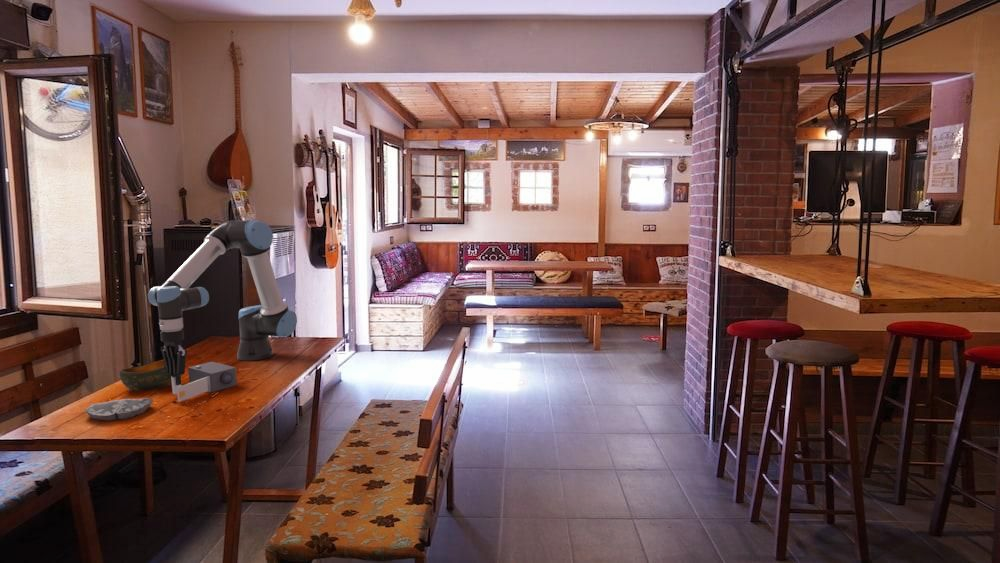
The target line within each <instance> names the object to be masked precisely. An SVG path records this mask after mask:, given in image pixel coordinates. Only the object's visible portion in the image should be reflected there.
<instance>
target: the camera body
mask: <svg viewBox="0 0 1000 563" xmlns="http://www.w3.org/2000/svg"><path fill="white" fill-rule="evenodd" d="M187 370H188V371H187V372H188V373H187V374H188V383H191V382H193V381H196V380H199V379H202V378H205V377H207V376H210V386H211V392H212V393H215V392H217V391H221V390H224V389H228V388H231V387H235V386H238V381H237V380H238V379H237V368H236V367H235V366H231V365H227V364H224V363H218V362H215V361H209V362H204V363H201V364H197V365H192V366H188V367H187ZM211 392H210V393H211Z"/></svg>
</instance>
